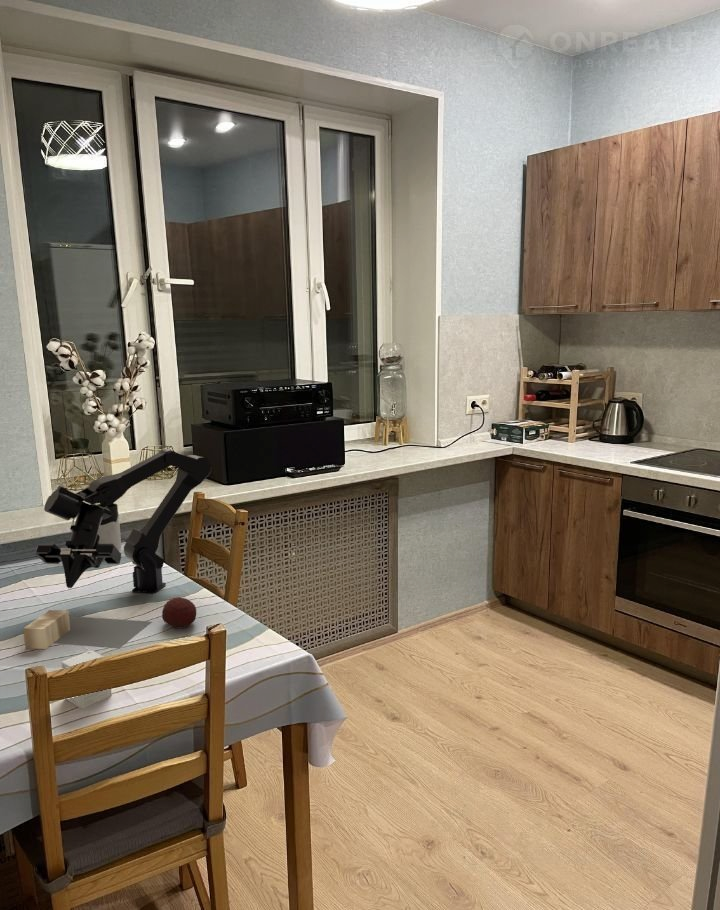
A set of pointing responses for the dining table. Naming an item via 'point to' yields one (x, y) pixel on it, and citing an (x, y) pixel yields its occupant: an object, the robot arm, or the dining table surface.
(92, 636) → the charcoal rubber mat
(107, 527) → the glass holder
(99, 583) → the dining table surface
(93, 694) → the product box
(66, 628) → the birch block
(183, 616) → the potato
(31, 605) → the dining table surface
